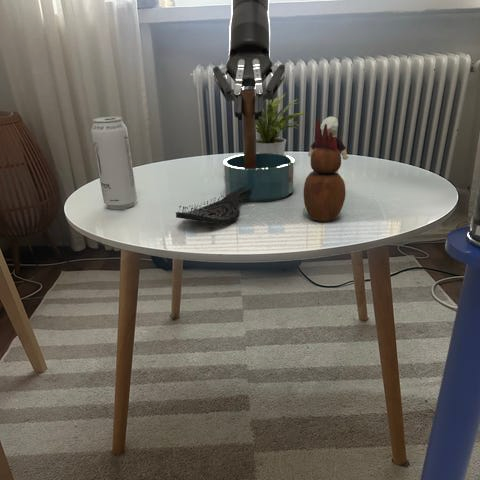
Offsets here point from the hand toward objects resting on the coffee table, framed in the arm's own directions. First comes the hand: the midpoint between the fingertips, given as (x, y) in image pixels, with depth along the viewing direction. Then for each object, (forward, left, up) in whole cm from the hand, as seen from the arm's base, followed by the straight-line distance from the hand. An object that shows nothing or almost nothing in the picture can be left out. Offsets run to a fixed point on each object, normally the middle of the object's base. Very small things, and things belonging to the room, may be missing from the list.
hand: (248, 116), depth 87 cm
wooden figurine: (-18, +8, -14) cm, 24 cm away
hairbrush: (-1, +11, -14) cm, 18 cm away
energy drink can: (+19, +15, -14) cm, 28 cm away
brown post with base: (+2, -3, -12) cm, 12 cm away
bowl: (-1, -2, -14) cm, 14 cm away
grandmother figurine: (-11, -12, -14) cm, 21 cm away
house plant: (+5, -18, -14) cm, 23 cm away
